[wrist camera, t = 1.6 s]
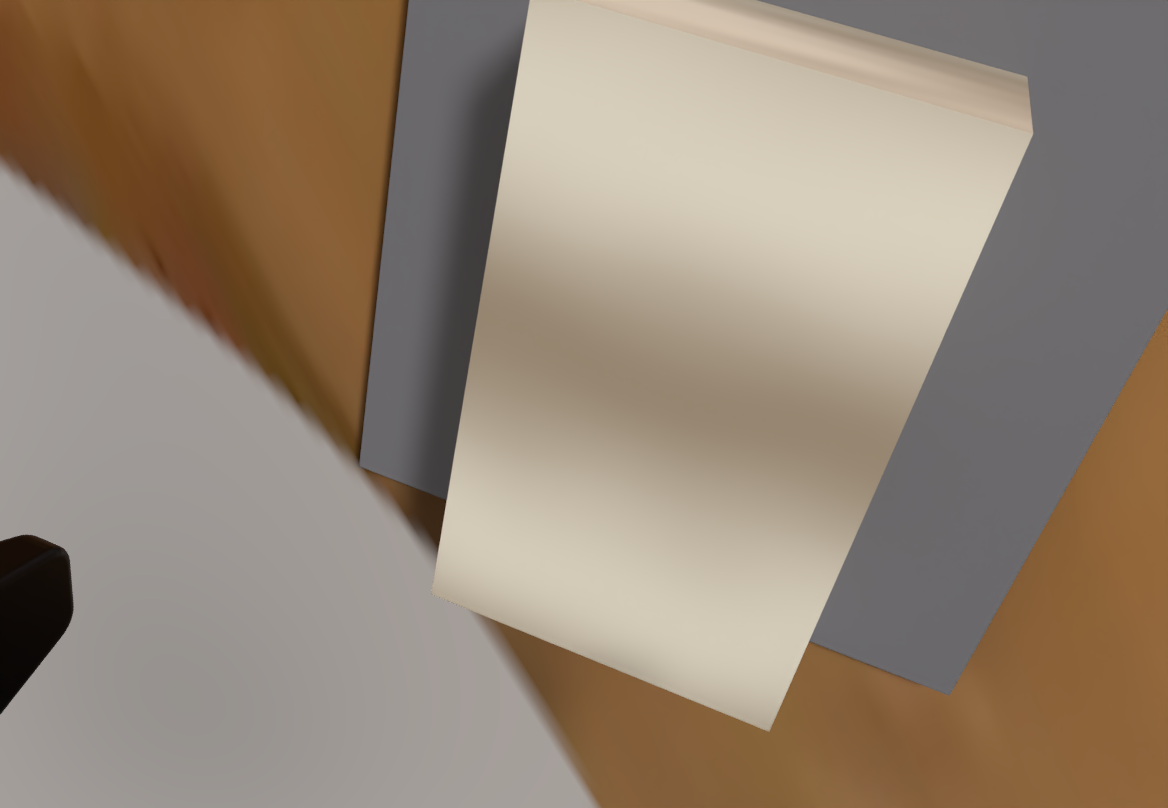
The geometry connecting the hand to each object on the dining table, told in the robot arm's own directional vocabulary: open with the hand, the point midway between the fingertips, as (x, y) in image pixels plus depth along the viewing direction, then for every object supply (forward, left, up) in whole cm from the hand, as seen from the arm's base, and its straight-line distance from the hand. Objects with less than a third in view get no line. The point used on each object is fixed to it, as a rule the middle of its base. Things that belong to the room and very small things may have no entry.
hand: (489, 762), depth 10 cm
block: (0, 0, -10) cm, 10 cm away
